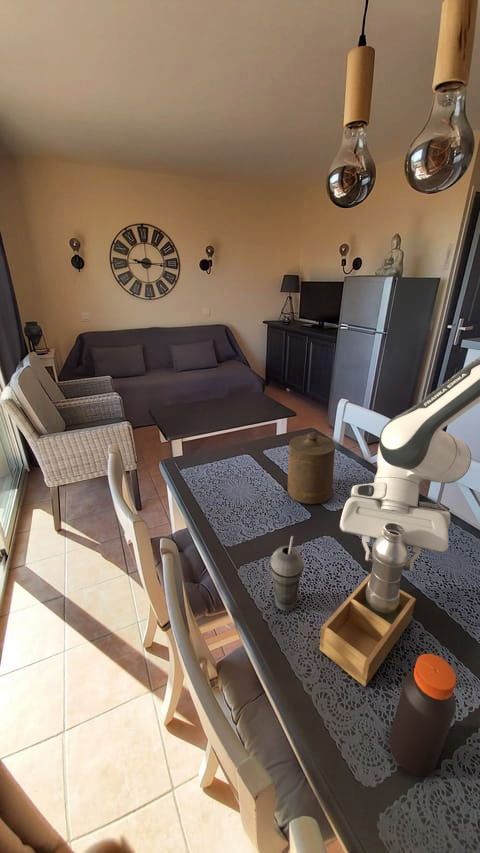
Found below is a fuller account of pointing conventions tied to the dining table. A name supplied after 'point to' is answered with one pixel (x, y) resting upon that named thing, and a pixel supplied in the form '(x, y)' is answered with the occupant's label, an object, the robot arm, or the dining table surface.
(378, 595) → the silver metal bottle
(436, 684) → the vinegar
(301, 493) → the wooden container
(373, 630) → the divided wooden box
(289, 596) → the beverage cup
